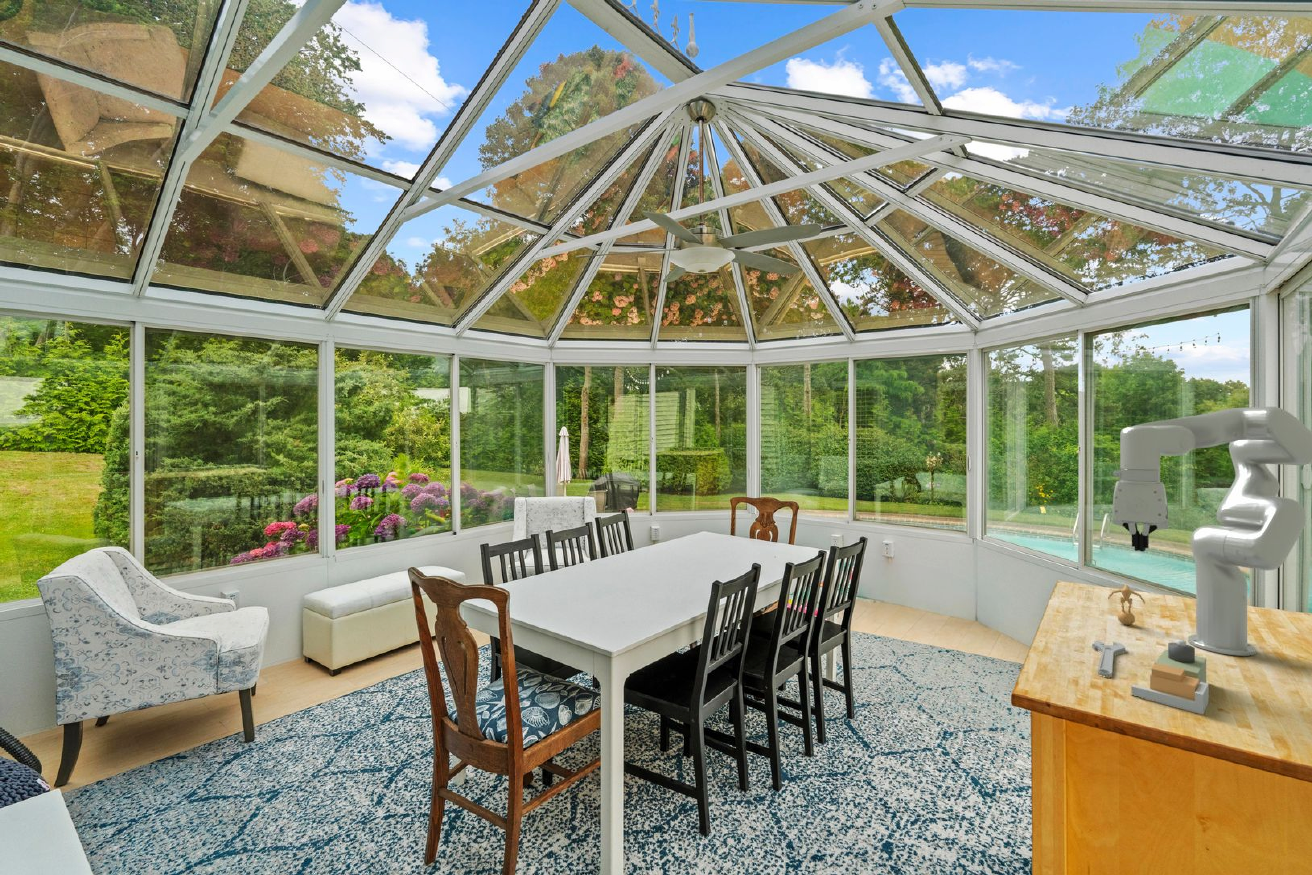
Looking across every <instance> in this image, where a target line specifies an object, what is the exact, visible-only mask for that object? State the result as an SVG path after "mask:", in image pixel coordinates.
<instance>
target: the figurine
mask: <svg viewBox="0 0 1312 875" xmlns="http://www.w3.org/2000/svg"><path fill="white" fill-rule="evenodd" d="M1116 593H1121V594H1122V596H1120V599H1119V600H1120V603H1121V611H1119V612H1118V614H1117V620H1118V621H1119V622H1120V623H1121V624H1122V625H1125V626H1130V625H1131V626H1132V625H1134V623H1135V622H1136V617H1135V615H1134V614H1133V612H1131V609H1132V605H1133V598H1132V597H1131V595H1132V594H1133V595H1135V596H1138V597H1139V599H1140V600H1141V601H1142V602H1143V604H1144V605H1146V601H1145V599H1144V598H1143V597H1142V595H1141V594H1139V593H1137V592H1136V591H1134V590H1131V589H1130V587H1129V585H1128V584H1124V586H1123V588H1121V589H1117V590H1113V591H1112V592H1111V593H1110V594H1109V595H1108V597H1107V599H1108V600H1110V598H1111V597H1112V596H1114V594H1116ZM1126 602H1127V603H1128V610H1125V603H1126Z"/></svg>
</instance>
